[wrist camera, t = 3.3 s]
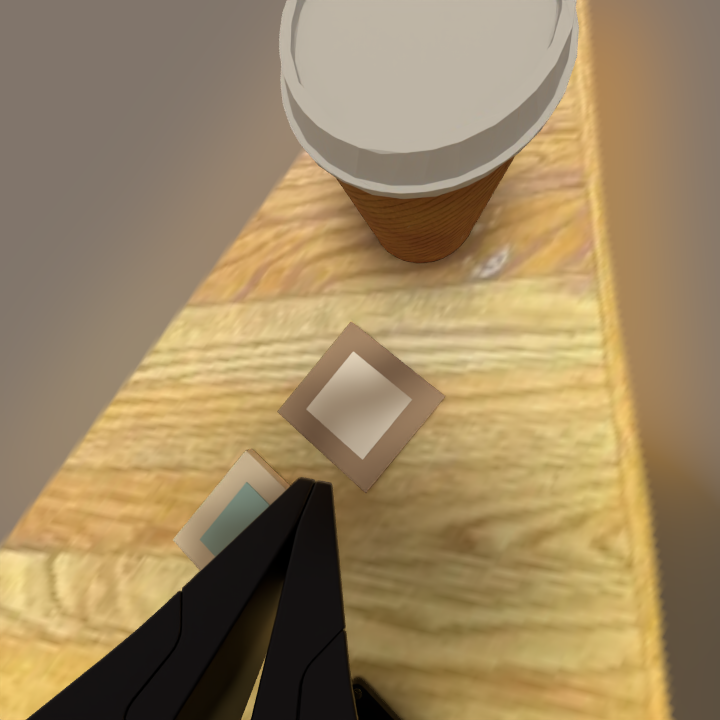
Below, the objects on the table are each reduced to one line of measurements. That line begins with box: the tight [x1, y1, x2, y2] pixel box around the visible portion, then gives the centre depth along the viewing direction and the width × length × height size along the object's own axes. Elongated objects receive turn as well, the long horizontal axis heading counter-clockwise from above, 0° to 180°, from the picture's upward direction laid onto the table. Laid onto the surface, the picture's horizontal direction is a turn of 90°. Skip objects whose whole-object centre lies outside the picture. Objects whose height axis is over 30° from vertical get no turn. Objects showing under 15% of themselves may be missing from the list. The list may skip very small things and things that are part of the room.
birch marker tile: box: [173, 449, 290, 571], centre depth 21 cm, size 7×7×1 cm
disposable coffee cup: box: [279, 0, 579, 263], centre depth 16 cm, size 10×10×12 cm
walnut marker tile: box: [277, 322, 445, 493], centre depth 21 cm, size 7×7×1 cm
